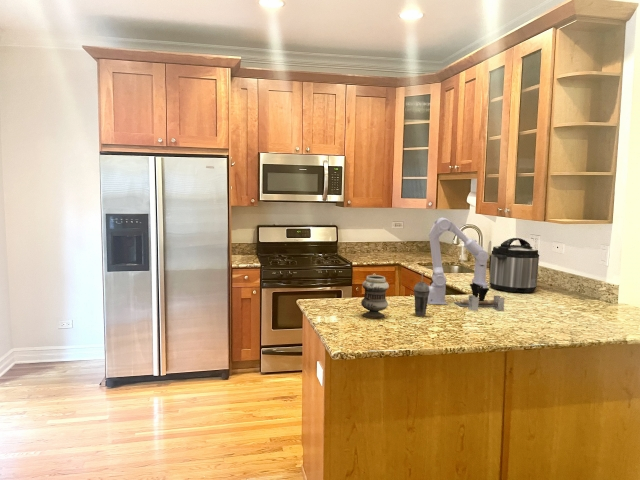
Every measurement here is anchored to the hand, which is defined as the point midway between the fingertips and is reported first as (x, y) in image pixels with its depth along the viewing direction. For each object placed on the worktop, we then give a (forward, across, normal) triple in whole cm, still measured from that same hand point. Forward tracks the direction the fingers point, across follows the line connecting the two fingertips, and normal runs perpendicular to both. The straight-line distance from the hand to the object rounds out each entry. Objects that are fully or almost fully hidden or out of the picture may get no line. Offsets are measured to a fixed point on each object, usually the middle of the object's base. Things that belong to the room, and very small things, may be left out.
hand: (478, 299), depth 239 cm
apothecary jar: (+4, -24, +59) cm, 64 cm away
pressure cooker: (+3, +44, -40) cm, 60 cm away
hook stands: (+3, -9, 0) cm, 10 cm away
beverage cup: (+3, -22, +37) cm, 43 cm away
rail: (+1, 0, 0) cm, 1 cm away
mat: (+3, 0, 0) cm, 3 cm away
